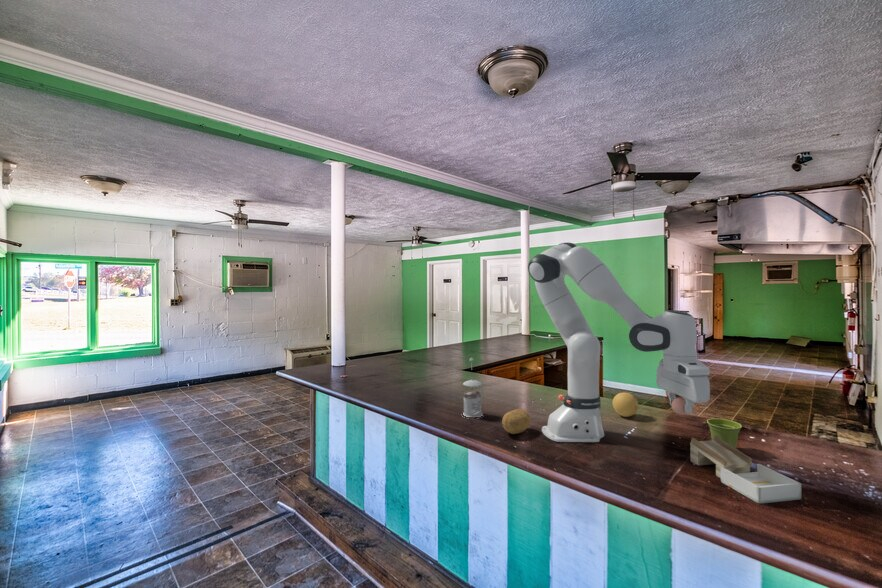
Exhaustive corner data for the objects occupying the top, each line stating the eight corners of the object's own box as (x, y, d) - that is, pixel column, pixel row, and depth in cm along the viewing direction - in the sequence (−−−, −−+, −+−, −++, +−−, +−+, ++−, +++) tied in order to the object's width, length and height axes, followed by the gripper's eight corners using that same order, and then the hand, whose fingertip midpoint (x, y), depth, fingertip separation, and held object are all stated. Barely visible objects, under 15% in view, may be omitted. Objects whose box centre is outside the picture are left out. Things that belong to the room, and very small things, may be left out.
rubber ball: (678, 417, 115) (678, 400, 115) (668, 412, 120) (667, 396, 120) (694, 416, 115) (694, 400, 115) (683, 411, 120) (683, 395, 120)
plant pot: (749, 454, 124) (749, 427, 124) (722, 455, 123) (721, 428, 123) (726, 442, 133) (725, 417, 133) (700, 444, 133) (700, 419, 133)
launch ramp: (724, 480, 108) (724, 454, 108) (690, 460, 120) (689, 437, 120) (752, 477, 109) (752, 451, 109) (716, 458, 121) (715, 435, 121)
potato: (494, 435, 145) (494, 414, 145) (513, 424, 156) (512, 405, 156) (518, 441, 139) (517, 419, 138) (535, 429, 149) (535, 409, 149)
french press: (456, 415, 168) (455, 358, 168) (472, 409, 177) (471, 354, 177) (475, 420, 162) (474, 360, 162) (490, 413, 171) (489, 356, 170)
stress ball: (614, 420, 161) (631, 409, 154) (603, 398, 167) (620, 387, 160) (630, 420, 165) (648, 410, 158) (620, 399, 171) (636, 388, 164)
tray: (758, 503, 96) (758, 487, 96) (720, 481, 107) (720, 467, 107) (801, 499, 98) (801, 483, 98) (759, 477, 109) (759, 463, 109)
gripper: (650, 358, 128) (651, 399, 128) (692, 371, 107) (692, 420, 107) (669, 357, 128) (669, 399, 128) (714, 370, 107) (715, 420, 107)
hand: (680, 409), depth 117 cm, fingers closed on rubber ball, 5 cm apart
